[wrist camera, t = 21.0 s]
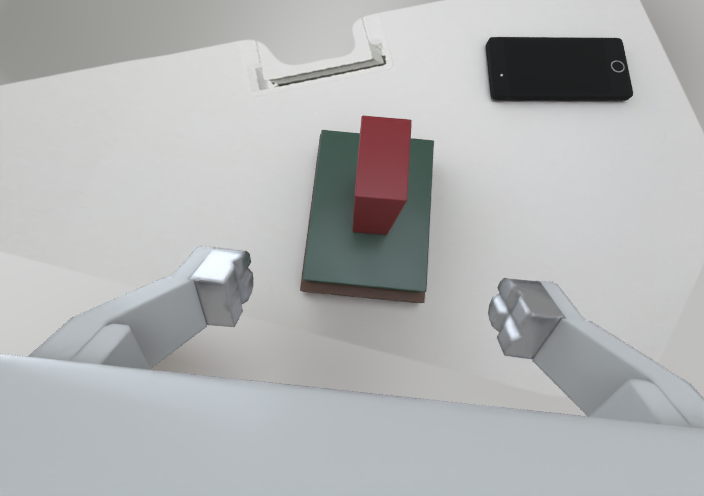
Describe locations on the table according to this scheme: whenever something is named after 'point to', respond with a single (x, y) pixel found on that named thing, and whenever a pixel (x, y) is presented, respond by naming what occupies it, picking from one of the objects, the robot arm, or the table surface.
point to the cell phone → (558, 69)
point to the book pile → (363, 248)
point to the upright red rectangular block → (381, 173)
